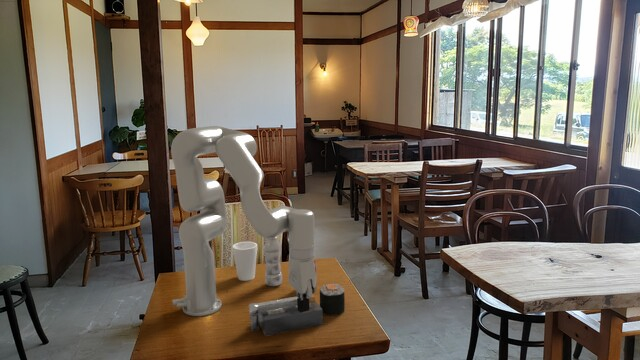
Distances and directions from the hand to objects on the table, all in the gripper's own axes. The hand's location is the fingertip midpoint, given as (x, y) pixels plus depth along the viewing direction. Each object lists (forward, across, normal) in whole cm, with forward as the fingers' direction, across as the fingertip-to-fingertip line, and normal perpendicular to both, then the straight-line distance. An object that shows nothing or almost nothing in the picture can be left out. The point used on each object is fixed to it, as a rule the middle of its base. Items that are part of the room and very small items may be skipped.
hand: (303, 310), depth 139 cm
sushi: (+6, -7, +14) cm, 16 cm away
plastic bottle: (+6, -35, +4) cm, 36 cm away
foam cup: (+6, -47, -3) cm, 47 cm away
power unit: (+6, -6, -4) cm, 9 cm away
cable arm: (0, -6, -5) cm, 7 cm away
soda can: (+6, -25, +13) cm, 29 cm away
